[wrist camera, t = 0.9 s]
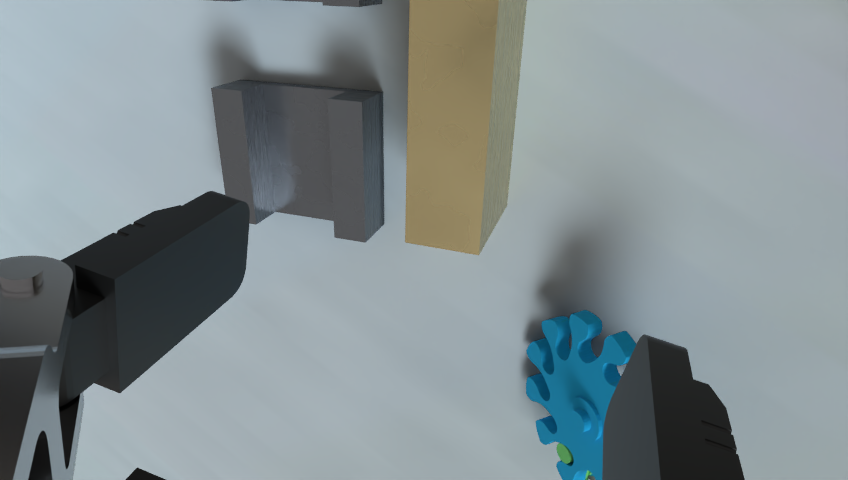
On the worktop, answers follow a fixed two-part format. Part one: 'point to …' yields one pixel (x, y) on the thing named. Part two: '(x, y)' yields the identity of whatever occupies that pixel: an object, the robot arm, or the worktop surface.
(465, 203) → the link bar
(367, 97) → the grey u-channel block
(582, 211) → the worktop surface
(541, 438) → the gear
